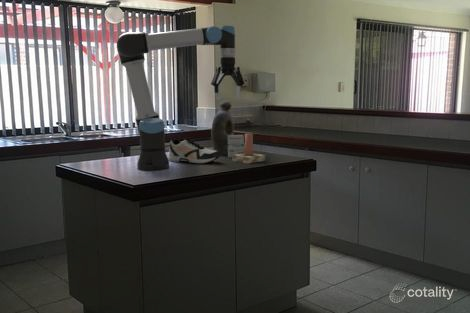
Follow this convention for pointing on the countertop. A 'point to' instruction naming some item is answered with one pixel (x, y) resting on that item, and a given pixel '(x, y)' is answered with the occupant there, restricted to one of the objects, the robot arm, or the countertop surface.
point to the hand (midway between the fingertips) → (228, 99)
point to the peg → (248, 144)
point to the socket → (248, 158)
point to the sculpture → (222, 128)
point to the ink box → (235, 145)
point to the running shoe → (190, 152)
